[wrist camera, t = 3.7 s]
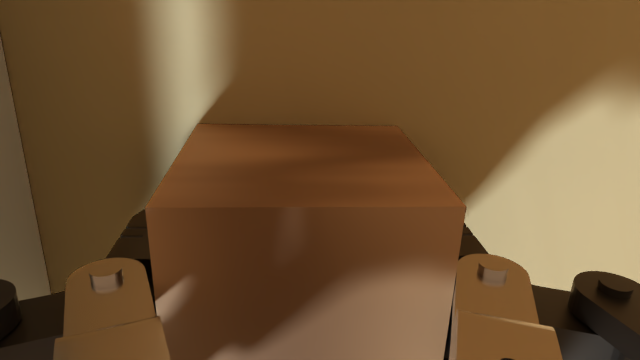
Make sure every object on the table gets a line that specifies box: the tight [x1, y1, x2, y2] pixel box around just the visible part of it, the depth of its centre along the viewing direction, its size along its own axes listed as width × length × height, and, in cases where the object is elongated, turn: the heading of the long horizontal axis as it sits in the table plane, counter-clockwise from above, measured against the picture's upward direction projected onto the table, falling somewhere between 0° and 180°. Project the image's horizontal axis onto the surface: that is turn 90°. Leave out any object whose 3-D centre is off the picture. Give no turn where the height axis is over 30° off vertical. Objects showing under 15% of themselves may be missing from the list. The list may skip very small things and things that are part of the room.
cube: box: [145, 124, 466, 360], centre depth 11 cm, size 5×5×5 cm
